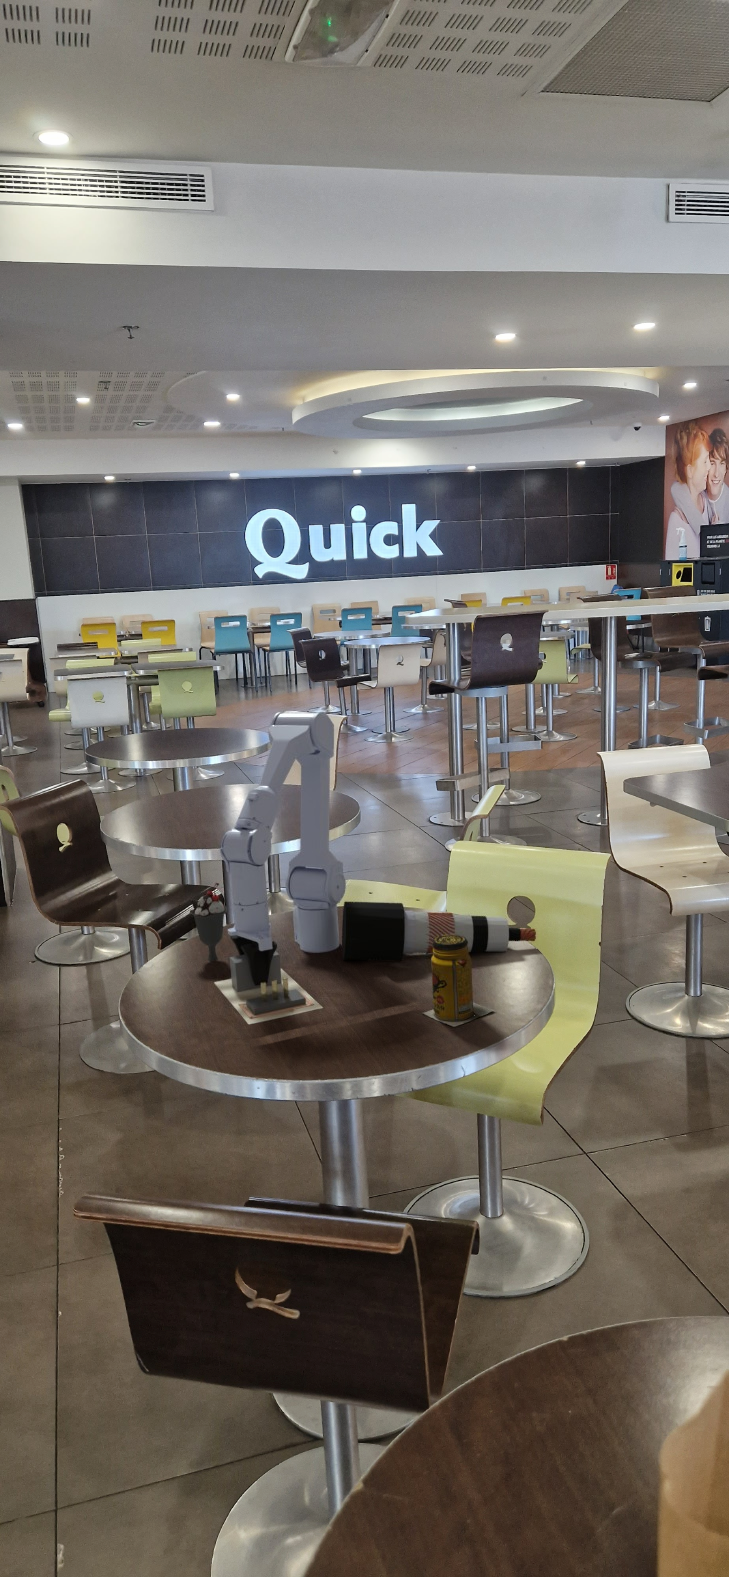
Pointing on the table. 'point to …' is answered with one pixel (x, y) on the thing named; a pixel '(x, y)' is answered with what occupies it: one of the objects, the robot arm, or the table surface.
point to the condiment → (453, 982)
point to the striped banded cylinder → (417, 931)
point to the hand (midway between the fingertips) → (256, 979)
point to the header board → (269, 999)
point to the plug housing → (243, 974)
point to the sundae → (209, 920)
